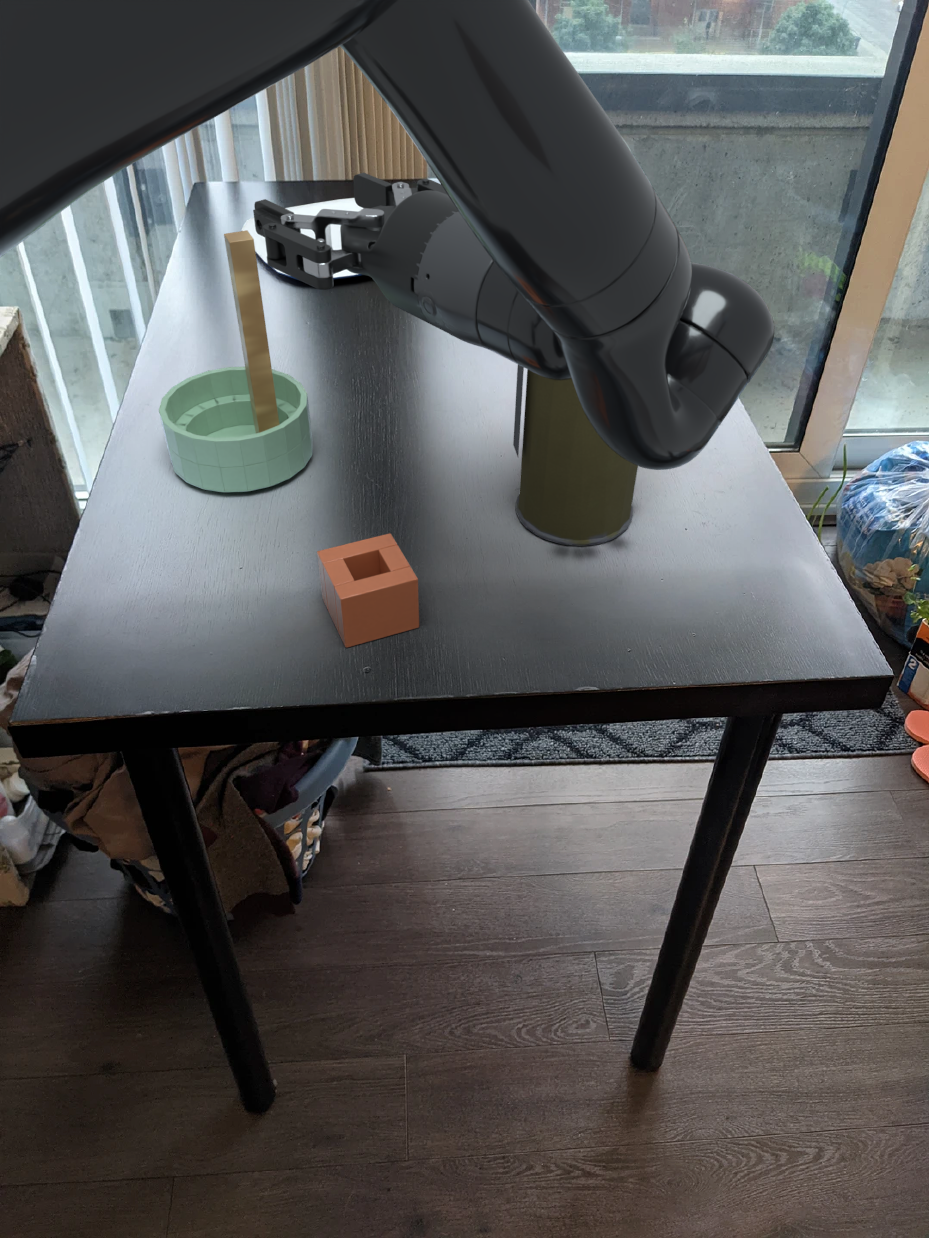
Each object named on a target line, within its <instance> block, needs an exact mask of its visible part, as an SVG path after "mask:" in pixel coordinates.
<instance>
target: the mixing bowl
mask: <svg viewBox="0 0 929 1238" xmlns="http://www.w3.org/2000/svg"><path fill="white" fill-rule="evenodd" d="M272 374H273V382H274V389H275V396H276V403H277V410H278V417H279V425H278V426H275V427H273V428H270V429H268V430H265V431H263V432H260V433H256V432H255V426H254V420H253V413H252V407H251V401H250V395H249V388H248V382H247V376H246V370H245V366H227V367H221V368H217V369H210V370H207V371H204V372H201V373H198V374H195V375H191V376H189V377H187V378H185V379H183V380H182V381H180V382H179V383H177V384H175V385H174V386H172V387H171V388H170V389H169V390H168V391H167V392H166V393H165V394H164V395H163V396H162V397H161V400H160V404H159V408H158V414H159V418H160V421H161V422H160V423H161V427H162V431H163V435H164V439H165V444H166V448H167V452H168V457H169V461H170V464H171V466H172V469H173V472H174V473H175V475H177V476H178V477H180V478H181V480H183V481H184V482H185V483H186V484H189V485H192V486H194V487H196V488H199V489H202V490H204V491H205V490H206V491H211V492H212V491H213V492H219V493H243V492H244V493H245V492H251V491H252V492H253V491H256V490H261V489H265V488H269V487H270V488H271V487H273V486H276V485H278V484H280V483H282V482H284V481H287V480H290V479H291V478H292V477H294V476H295V475H297V474H298V473H299V472H300V471H301V470H303V469H305V467H306V465H308V463H309V461H310V459H311V458H312V456H313V450H314V449H313V447H314V441H313V435H312V434H313V431H312V424H311V414H310V405H309V395H308V392H307V391H306V389H305V388H304V386H303V384H302V382H301V381H299V380H297V379H296V378H294V377H293V376H292V375H290V374H289V373H285V372H282V371H279V370H276V369H273V368H272Z"/></svg>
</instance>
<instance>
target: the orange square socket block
mask: <svg viewBox="0 0 929 1238" xmlns="http://www.w3.org/2000/svg"><path fill="white" fill-rule="evenodd" d="M316 555H317V556H316V557H317V562H318V572H319V573H318V574H319V581H320V587H321V588H320V589H321V597H322V601H323V603H324V605H325V608H326V610H327V611H328V614H329V616H330V618H331V621H332V622H333V624H334V627H335V629H336V630H337V633H338V634H339V638H340V639H341V641H342V644H343V645H344V647H345V649H346V648H351V647H355V646H359V645H361V644H365V643H369V642H373V641H377V640H379V639H383V638H387V637H390V636H393V635H398V634H402V633H405V632H407V631H413V630H415V629H418V628H420V605H419V604H420V599H419V597H420V596H419V578H418V577H417V575H416V573H415V572H414V570H413V568H412V566H411V565H410V563H409V561H408V560H407V558H406V556H405V555H404V553H403V551H402V550H401V548H400V546H399V544H398V543H397V541H396V540H395V538H394V536H393V535H392V533H390V532H389V533H386V534H382V535H377V536H373V537H368V538H364V539H360V540H357V541H353V542H349V543H344V544H341V545H336V546H333V547H329V548H324V549H320V550H318V551H316Z"/></svg>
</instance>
